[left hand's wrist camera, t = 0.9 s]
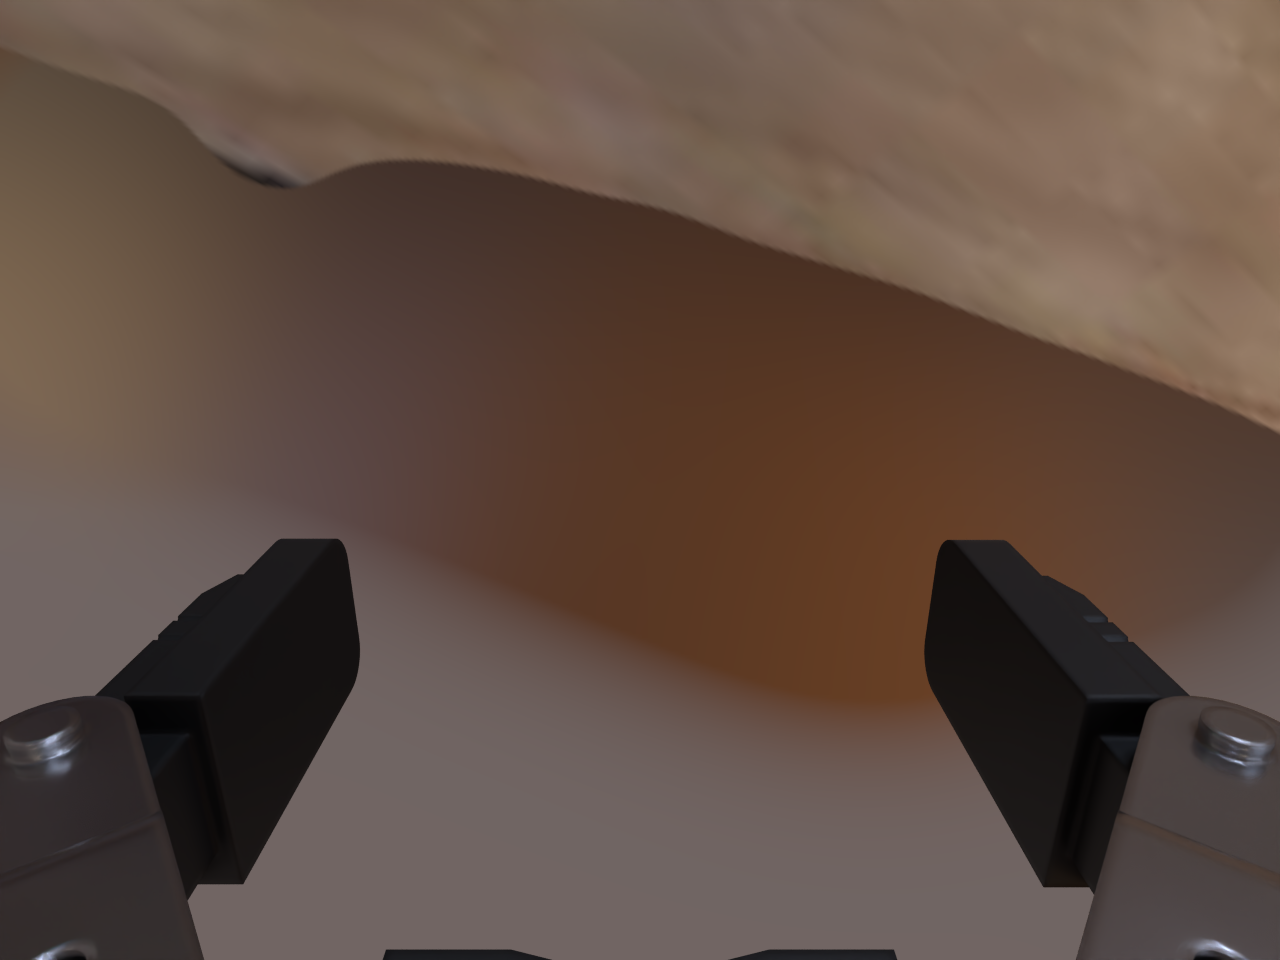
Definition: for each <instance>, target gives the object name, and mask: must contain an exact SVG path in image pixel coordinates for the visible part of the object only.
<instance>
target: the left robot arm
mask: <svg viewBox="0 0 1280 960" xmlns="http://www.w3.org/2000/svg"><path fill="white" fill-rule="evenodd" d="M924 655H925V667H926V672H927V677H928V681H929V684H930V687H931V689H932V691H933V693H934V695H935V696H936V698H937V700H938V702H939V703H940V705H941V707H942V709H943V711H944V712H945V714H946V716H947V718H948V719H949V721H950V723H951V725H952V726H953V728H954V730H955V732H956V734H957V735H958V737H959V739H960V740H961V742H962V744H963V746H964V748H965V749H966V751H967V753H968V755H969V756H970V758H971V760H972V762H973V764H974V765H975V767H976V769H977V770H978V772H979V774H980V776H981V778H982V779H983V781H984V783H985V785H986V786H987V788H988V790H989V792H990V794H991V795H992V797H993V799H994V801H995V802H996V804H997V806H998V808H999V810H1000V811H1001V813H1002V815H1003V817H1004V818H1005V820H1006V822H1007V824H1008V825H1009V827H1010V829H1011V831H1012V833H1013V834H1014V836H1015V838H1016V840H1017V841H1018V843H1019V845H1020V847H1021V848H1022V850H1023V852H1024V854H1025V855H1026V857H1027V859H1028V861H1029V863H1030V864H1031V866H1032V868H1033V870H1034V871H1035V873H1036V875H1037V877H1038V878H1039V880H1040V882H1041V884H1042V886H1043V887H1090V889H1091V891H1092V892H1093V894H1094V897H1093V901H1092V904H1091V908H1090V912H1089V915H1088V919H1087V922H1086V926H1085V929H1084V933H1083V936H1082V940H1081V943H1080V947H1079V950H1078V954H1077V958H1076V960H1280V722H1279V721H1277V720H1275V719H1273V718H1271V717H1269V716H1267V715H1264V714H1262V713H1259V712H1257V711H1255V710H1252V709H1249V708H1246V707H1243V706H1241V705H1238V704H1234V703H1230V702H1227V701H1223V700H1218V699H1213V698H1207V697H1198V696H1190V695H1189V694H1188V693H1186V692H1185V691H1184V690H1183V689H1182V688H1181V687H1180V686H1179V685H1178V684H1177V683H1176V682H1175V681H1174V680H1173V679H1172V678H1171V677H1170V676H1169V675H1167V674H1166V673H1165V672H1164V671H1163V670H1162V669H1161V668H1160V667H1159V666H1158V665H1157V664H1156V663H1155V662H1154V661H1153V660H1152V659H1151V658H1150V657H1148V656H1147V655H1146V654H1145V653H1144V652H1143V651H1142V650H1141V649H1140V648H1139V647H1138V646H1137V645H1136V644H1135V643H1134V642H1128V637H1127V636H1126V635H1125V634H1124V633H1123V632H1122V631H1121V630H1120V629H1119V628H1118V627H1117V626H1116V625H1115V624H1114V623H1112V622H1108V618H1107V617H1106V616H1105V615H1104V614H1103V613H1102V612H1101V611H1100V610H1099V609H1098V608H1097V607H1096V606H1095V605H1094V604H1093V603H1092V602H1091V601H1090V600H1088V599H1087V598H1086V597H1085V596H1084V595H1083V594H1081V593H1079V592H1077V591H1075V590H1073V589H1071V588H1070V587H1068V586H1066V585H1064V584H1062V583H1060V582H1058V581H1056V580H1055V579H1053V578H1051V577H1049V576H1042V575H1040V573H1039V572H1038V571H1037V570H1036V569H1034V568H1033V566H1032V565H1030V564H1029V562H1028V561H1027V560H1026V559H1025V558H1024V557H1023V556H1022V555H1020V554H1019V552H1018V551H1016V550H1015V548H1013V546H1012V545H1011V544H1009V543H1008V542H1007V541H1005V540H946V541H945V542H944V543H943V544H942V545H941V547H940V550H939V552H938V556H937V561H936V568H935V575H934V582H933V589H932V596H931V603H930V610H929V617H928V624H927V631H926V638H925V649H924ZM359 659H360V643H359V634H358V627H357V620H356V613H355V606H354V599H353V592H352V585H351V578H350V571H349V564H348V557H347V553H346V550H345V547H344V545H343V543H342V542H341V541H340V540H339V539H280V540H278V541H276V542H275V543H274V544H273V545H272V546H271V547H270V548H269V549H268V550H267V551H266V552H265V553H264V554H263V555H262V556H261V557H260V558H259V559H258V560H257V561H256V563H255V564H254V565H253V566H252V567H251V568H250V569H249V570H248V571H247V572H246V573H245V574H243V575H242V574H241V575H239V574H238V575H236V576H234V577H232V578H230V579H228V580H226V581H224V582H223V583H221V584H219V585H217V586H215V587H213V588H211V589H210V590H208V591H206V592H204V593H202V594H201V595H200V596H199V597H198V598H197V599H196V600H195V601H193V602H192V603H191V604H190V605H189V606H188V607H187V608H186V609H185V610H184V611H183V612H182V613H181V614H180V615H179V616H178V621H173V622H172V623H171V624H169V625H168V626H167V627H166V628H165V629H164V630H163V631H162V632H161V633H160V634H159V635H158V640H153V641H152V642H151V643H150V644H149V645H148V646H147V647H145V648H144V649H143V650H142V651H141V652H140V653H139V654H138V655H137V656H136V657H135V658H134V659H133V660H132V661H131V662H130V663H129V664H128V665H127V666H126V667H125V668H124V669H123V670H122V671H120V672H119V673H118V674H117V675H116V676H115V677H114V678H113V679H112V680H111V681H110V682H109V683H108V684H107V685H106V686H105V687H104V688H103V689H102V690H101V691H100V692H98V693H97V694H96V695H95V696H82V697H73V698H67V699H62V700H57V701H54V702H50V703H46V704H43V705H39V706H37V707H34V708H31V709H28V710H25V711H23V712H21V713H18V714H16V715H13V716H11V717H9V718H7V719H5V720H3V721H1V722H0V960H204V958H203V954H202V950H201V947H200V943H199V940H198V936H197V933H196V929H195V926H194V922H193V919H192V915H191V912H190V908H189V904H188V899H189V897H190V896H191V894H192V893H193V891H194V889H195V888H196V886H197V885H198V884H244V882H245V880H246V878H247V876H248V875H249V873H250V871H251V869H252V867H253V866H254V864H255V862H256V860H257V859H258V857H259V855H260V853H261V851H262V850H263V848H264V846H265V844H266V842H267V841H268V839H269V837H270V835H271V833H272V832H273V830H274V828H275V826H276V824H277V823H278V821H279V819H280V817H281V815H282V814H283V812H284V810H285V808H286V807H287V805H288V803H289V801H290V799H291V798H292V796H293V794H294V792H295V790H296V789H297V787H298V785H299V783H300V781H301V780H302V778H303V776H304V774H305V773H306V771H307V769H308V767H309V765H310V764H311V762H312V760H313V758H314V756H315V755H316V753H317V751H318V749H319V748H320V746H321V744H322V742H323V740H324V739H325V737H326V735H327V733H328V731H329V730H330V728H331V726H332V724H333V722H334V721H335V719H336V717H337V715H338V713H339V712H340V710H341V708H342V706H343V705H344V703H345V701H346V699H347V697H348V696H349V694H350V692H351V690H352V688H353V686H354V684H355V681H356V677H357V673H358V668H359ZM383 960H550V959H546V958H542V957H538V956H534V955H530V954H526V953H522V952H518V951H514V950H386V952H385V955H384V958H383ZM730 960H897V958H896V955H895V952H894V950H766V951H762V952H758V953H754V954H750V955H746V956H742V957H738V958H734V959H730Z"/></svg>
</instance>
